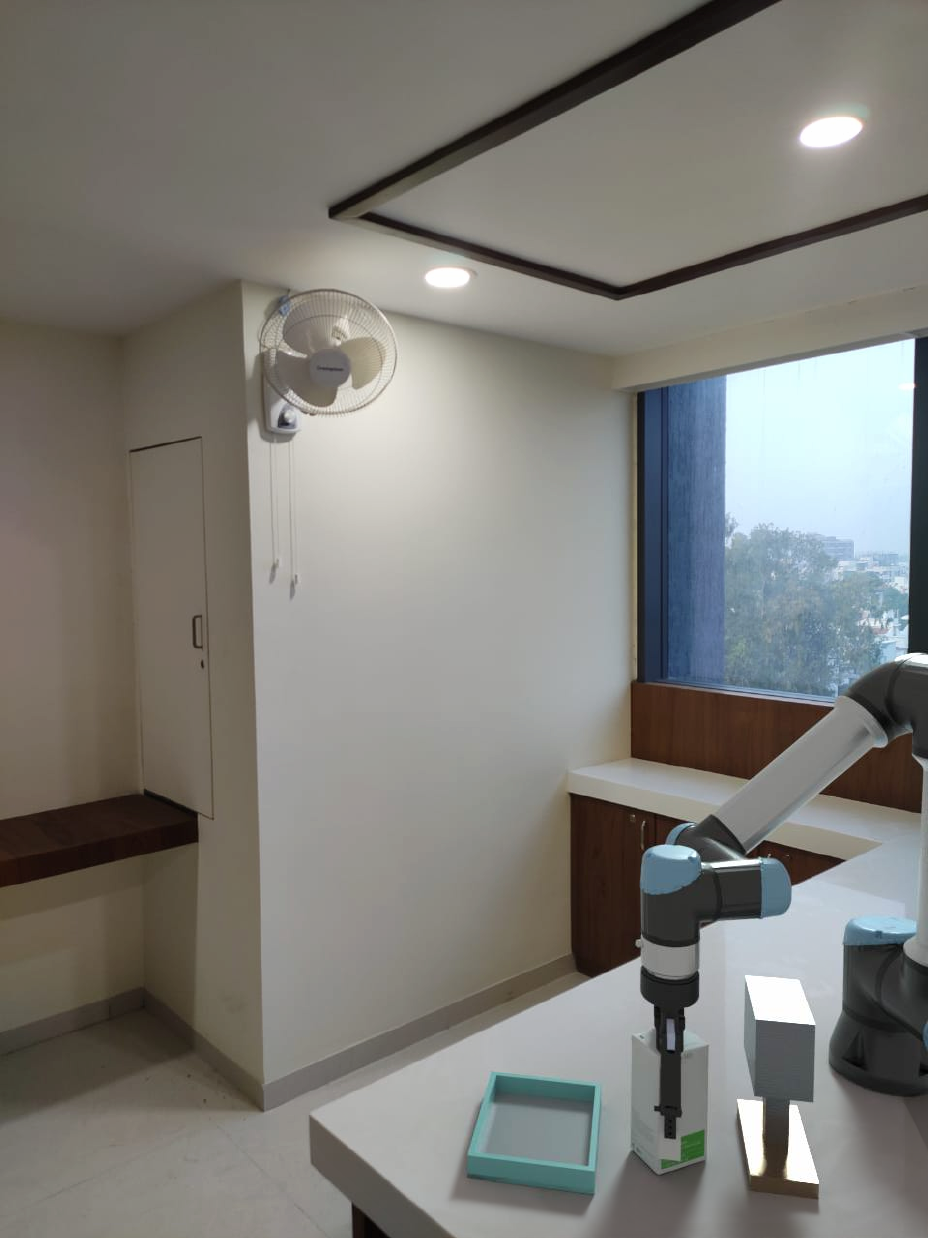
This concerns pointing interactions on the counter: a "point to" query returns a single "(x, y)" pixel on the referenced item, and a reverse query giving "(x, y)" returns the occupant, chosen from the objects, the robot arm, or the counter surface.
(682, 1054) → the skincare box
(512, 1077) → the tray
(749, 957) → the counter surface
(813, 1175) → the mounted unit
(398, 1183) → the counter surface
